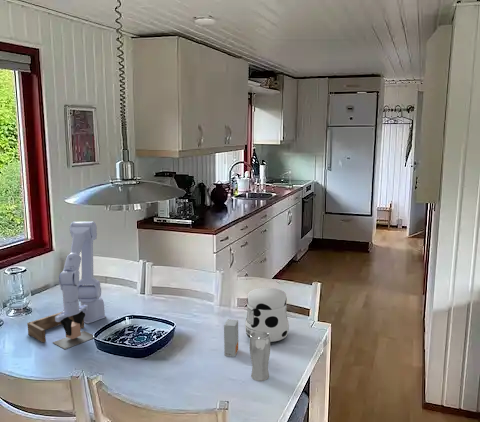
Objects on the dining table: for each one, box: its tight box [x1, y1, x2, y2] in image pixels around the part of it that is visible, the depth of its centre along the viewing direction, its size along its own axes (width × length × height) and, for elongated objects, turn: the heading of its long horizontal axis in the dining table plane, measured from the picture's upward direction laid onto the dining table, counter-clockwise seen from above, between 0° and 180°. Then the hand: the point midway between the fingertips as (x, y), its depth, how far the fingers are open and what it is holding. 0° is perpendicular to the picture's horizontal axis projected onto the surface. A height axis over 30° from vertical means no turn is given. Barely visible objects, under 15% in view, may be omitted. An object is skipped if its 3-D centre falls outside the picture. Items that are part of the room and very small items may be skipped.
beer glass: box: [249, 331, 271, 382], centre depth 163 cm, size 7×7×15 cm
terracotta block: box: [65, 322, 82, 339], centre depth 194 cm, size 4×4×5 cm
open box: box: [26, 311, 94, 350], centre depth 199 cm, size 18×24×5 cm
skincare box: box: [223, 318, 239, 358], centre depth 181 cm, size 6×4×12 cm
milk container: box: [244, 287, 290, 344], centre depth 193 cm, size 17×17×18 cm
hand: (73, 332), depth 194 cm, fingers closed on terracotta block, 4 cm apart
